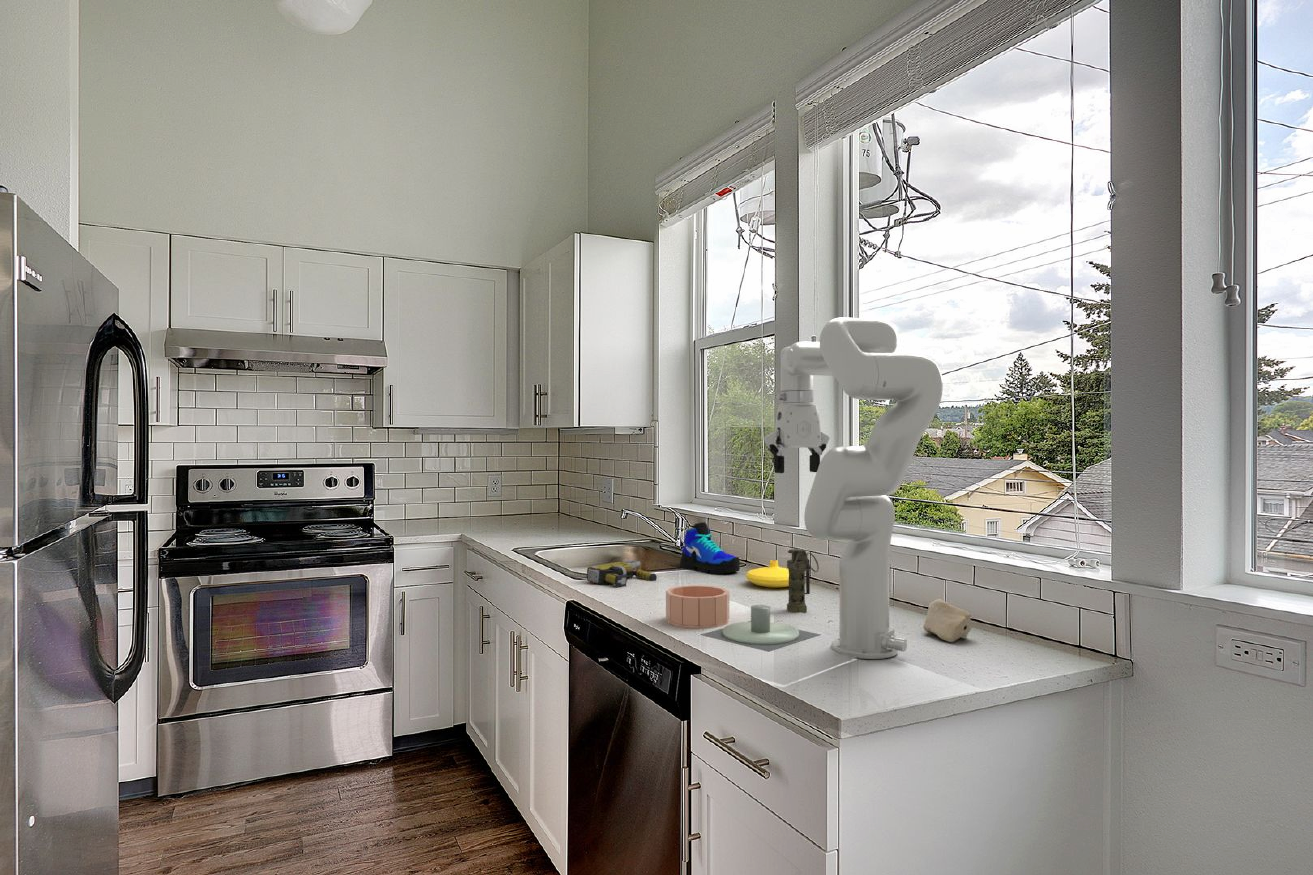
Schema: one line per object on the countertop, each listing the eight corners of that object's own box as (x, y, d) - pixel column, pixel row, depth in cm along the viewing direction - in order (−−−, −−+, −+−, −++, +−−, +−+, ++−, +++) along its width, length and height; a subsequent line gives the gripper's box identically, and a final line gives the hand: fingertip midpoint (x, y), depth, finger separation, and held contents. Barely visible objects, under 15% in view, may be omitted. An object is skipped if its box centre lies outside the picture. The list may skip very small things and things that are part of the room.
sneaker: (724, 577, 232) (724, 527, 232) (674, 567, 251) (673, 520, 251) (746, 574, 238) (746, 525, 238) (695, 564, 257) (695, 518, 257)
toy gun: (673, 567, 236) (631, 558, 244) (628, 575, 215) (584, 565, 223) (671, 582, 236) (630, 573, 244) (626, 592, 215) (583, 582, 223)
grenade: (795, 616, 182) (795, 552, 182) (779, 611, 187) (779, 549, 187) (824, 612, 187) (824, 549, 186) (808, 607, 192) (808, 546, 192)
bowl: (741, 622, 177) (741, 591, 177) (699, 633, 167) (699, 600, 167) (695, 612, 187) (695, 583, 187) (654, 622, 177) (654, 591, 177)
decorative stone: (937, 627, 172) (937, 595, 172) (977, 642, 161) (977, 607, 160) (910, 630, 170) (910, 597, 170) (948, 645, 158) (948, 609, 158)
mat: (820, 636, 164) (820, 634, 164) (768, 653, 152) (768, 651, 152) (753, 622, 177) (753, 619, 177) (700, 636, 165) (700, 634, 165)
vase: (805, 582, 225) (805, 557, 225) (798, 592, 210) (798, 566, 210) (751, 579, 230) (751, 555, 230) (740, 589, 215) (740, 563, 215)
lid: (814, 634, 164) (814, 607, 164) (767, 649, 153) (767, 619, 153) (754, 621, 176) (754, 595, 176) (706, 634, 165) (706, 607, 165)
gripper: (773, 398, 175) (773, 474, 176) (837, 399, 182) (837, 472, 182) (756, 399, 182) (756, 472, 182) (818, 400, 189) (818, 471, 189)
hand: (797, 472), depth 182 cm, fingers open, 9 cm apart
